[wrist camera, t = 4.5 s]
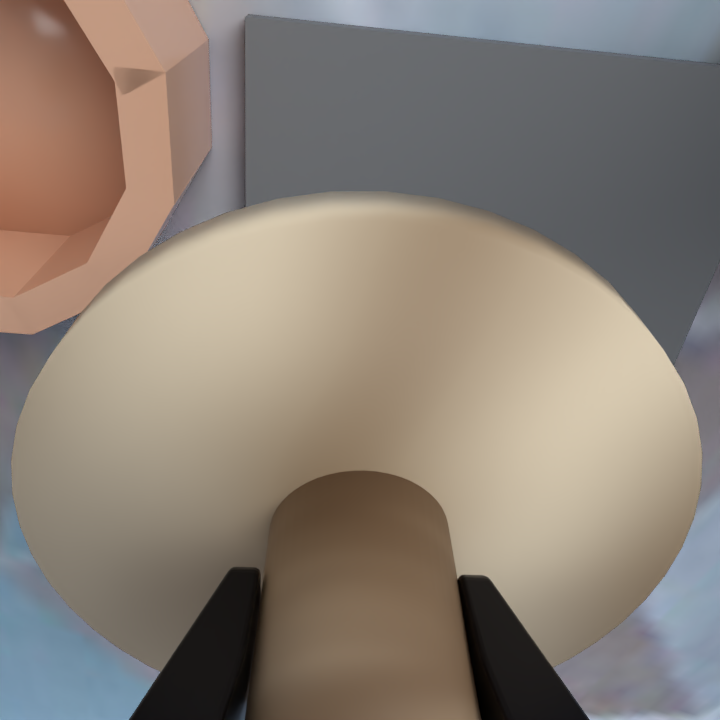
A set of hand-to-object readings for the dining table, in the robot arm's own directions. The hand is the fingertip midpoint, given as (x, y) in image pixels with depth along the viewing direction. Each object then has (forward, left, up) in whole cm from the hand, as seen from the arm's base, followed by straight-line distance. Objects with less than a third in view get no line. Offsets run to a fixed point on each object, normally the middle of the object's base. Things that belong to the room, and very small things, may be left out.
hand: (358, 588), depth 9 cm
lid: (0, 0, -2) cm, 2 cm away
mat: (-4, +1, -12) cm, 13 cm away
